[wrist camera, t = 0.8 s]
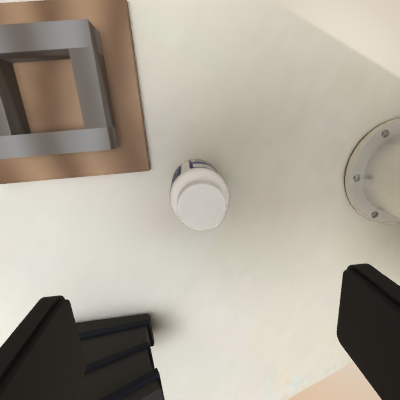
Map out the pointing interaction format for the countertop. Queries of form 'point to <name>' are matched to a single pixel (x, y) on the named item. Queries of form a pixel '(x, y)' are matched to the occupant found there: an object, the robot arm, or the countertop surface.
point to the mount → (68, 91)
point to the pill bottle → (198, 195)
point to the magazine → (119, 360)
